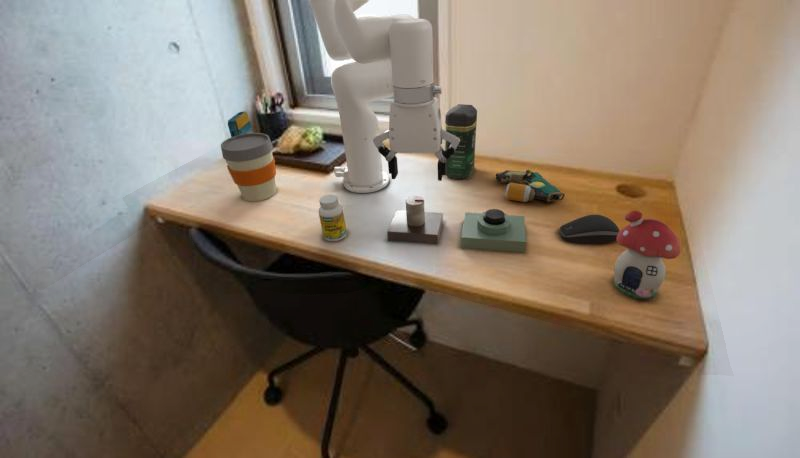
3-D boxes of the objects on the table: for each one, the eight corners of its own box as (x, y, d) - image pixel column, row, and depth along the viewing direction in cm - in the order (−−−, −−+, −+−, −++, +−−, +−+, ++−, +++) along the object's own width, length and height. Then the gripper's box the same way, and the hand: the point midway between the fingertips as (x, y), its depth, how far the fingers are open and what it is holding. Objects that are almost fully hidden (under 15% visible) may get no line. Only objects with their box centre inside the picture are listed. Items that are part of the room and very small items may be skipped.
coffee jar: (469, 181, 112) (472, 114, 102) (441, 178, 115) (441, 112, 104) (477, 166, 120) (480, 102, 109) (450, 163, 122) (451, 100, 112)
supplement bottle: (345, 227, 97) (340, 190, 91) (348, 239, 92) (342, 202, 87) (322, 231, 96) (315, 194, 90) (324, 244, 91) (317, 206, 86)
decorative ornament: (598, 281, 76) (617, 211, 68) (619, 266, 79) (639, 198, 71) (649, 309, 70) (677, 236, 62) (669, 292, 73) (698, 220, 64)
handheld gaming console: (251, 156, 136) (239, 111, 127) (263, 156, 135) (251, 110, 127) (238, 169, 128) (224, 121, 119) (251, 169, 127) (238, 121, 119)
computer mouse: (555, 227, 92) (557, 211, 89) (611, 225, 91) (616, 210, 89) (564, 245, 86) (567, 229, 84) (625, 244, 85) (630, 228, 83)
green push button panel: (460, 247, 87) (461, 230, 85) (464, 222, 95) (465, 205, 93) (524, 252, 85) (527, 234, 82) (523, 226, 93) (525, 208, 90)
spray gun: (493, 178, 114) (549, 180, 113) (500, 206, 100) (564, 207, 98) (495, 164, 112) (552, 165, 111) (502, 190, 98) (567, 191, 96)
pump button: (484, 225, 87) (484, 218, 86) (485, 215, 90) (485, 208, 89) (503, 226, 86) (504, 219, 85) (504, 216, 89) (504, 209, 88)
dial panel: (388, 240, 91) (387, 231, 90) (396, 219, 98) (396, 210, 97) (437, 244, 89) (437, 235, 87) (442, 222, 96) (442, 212, 95)
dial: (405, 226, 91) (403, 203, 88) (408, 216, 94) (407, 194, 91) (423, 227, 90) (422, 204, 87) (426, 217, 93) (425, 195, 90)
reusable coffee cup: (247, 209, 106) (231, 155, 98) (228, 193, 114) (211, 142, 106) (291, 192, 113) (279, 140, 104) (270, 178, 121) (257, 129, 113)
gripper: (462, 87, 78) (460, 170, 87) (373, 89, 82) (381, 168, 91) (458, 98, 72) (457, 186, 81) (363, 99, 75) (372, 184, 85)
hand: (417, 177), depth 86 cm, fingers open, 9 cm apart
